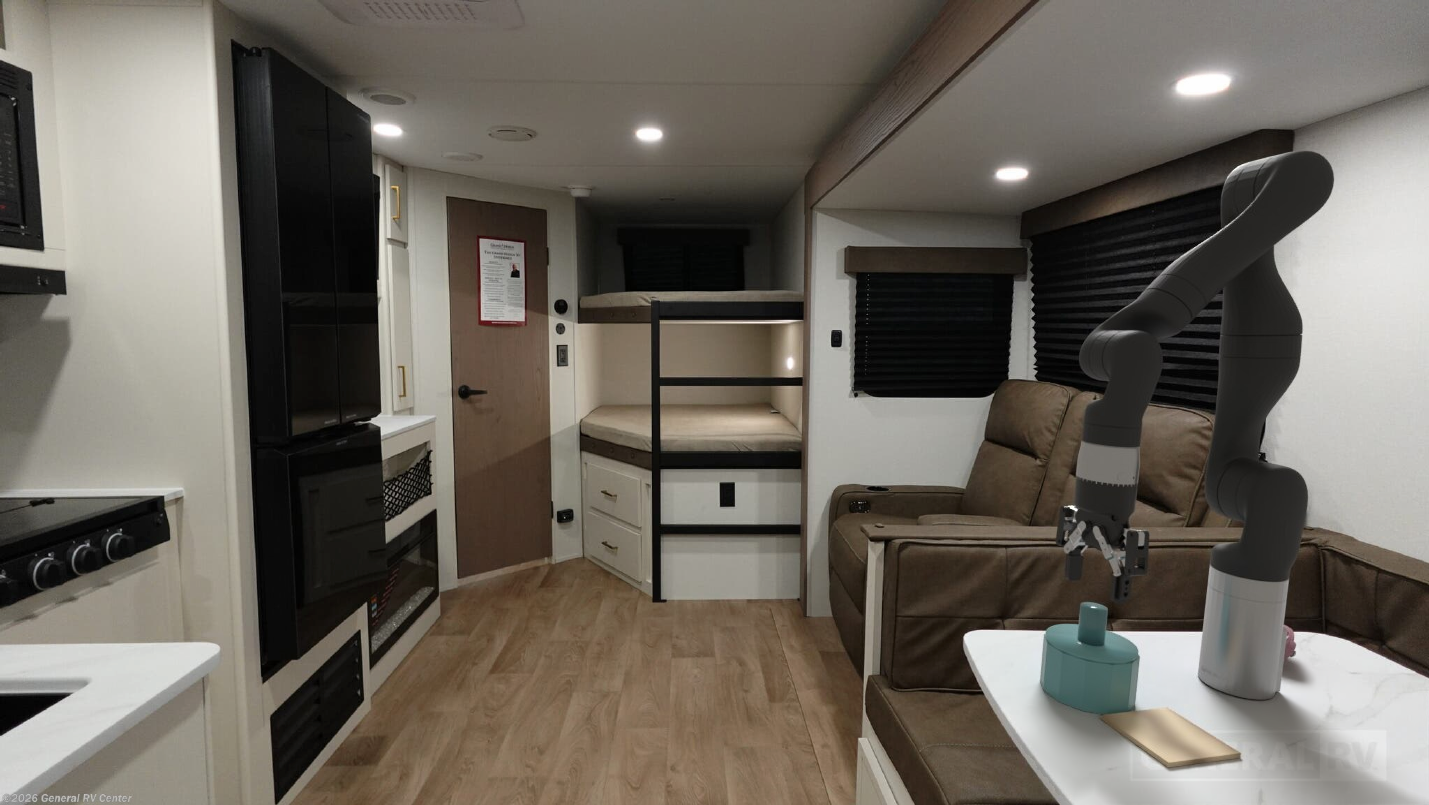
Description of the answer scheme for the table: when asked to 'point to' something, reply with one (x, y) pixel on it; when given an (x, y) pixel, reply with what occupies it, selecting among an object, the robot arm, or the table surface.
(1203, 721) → the table surface
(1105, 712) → the teal lid with knob
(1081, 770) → the table surface
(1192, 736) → the board
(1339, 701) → the table surface
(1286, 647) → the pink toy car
